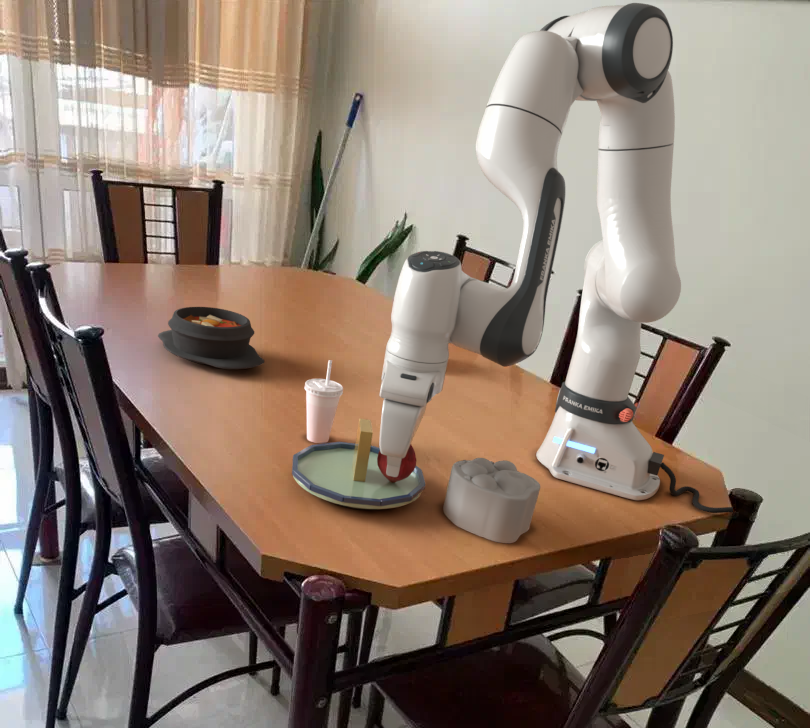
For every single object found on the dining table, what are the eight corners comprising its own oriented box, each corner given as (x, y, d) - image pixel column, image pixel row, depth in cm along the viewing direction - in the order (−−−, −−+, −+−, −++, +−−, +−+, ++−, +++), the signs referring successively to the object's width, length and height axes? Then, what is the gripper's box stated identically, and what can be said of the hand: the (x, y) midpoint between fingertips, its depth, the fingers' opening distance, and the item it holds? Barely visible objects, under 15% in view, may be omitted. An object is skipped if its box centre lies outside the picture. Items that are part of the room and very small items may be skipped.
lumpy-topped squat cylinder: (507, 548, 114) (522, 493, 110) (429, 515, 119) (440, 462, 115) (535, 524, 122) (549, 472, 118) (460, 494, 127) (472, 444, 123)
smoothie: (321, 449, 133) (331, 368, 127) (291, 437, 136) (299, 357, 129) (343, 440, 138) (354, 362, 132) (313, 428, 141) (323, 350, 134)
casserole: (284, 371, 165) (288, 331, 161) (210, 383, 152) (212, 339, 148) (210, 335, 178) (212, 297, 174) (135, 343, 165) (135, 301, 161)
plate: (430, 515, 115) (441, 460, 111) (290, 501, 112) (296, 444, 108) (415, 458, 132) (424, 409, 128) (293, 444, 129) (298, 393, 125)
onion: (419, 486, 122) (429, 437, 118) (392, 494, 118) (401, 444, 114) (393, 471, 125) (401, 423, 121) (366, 478, 121) (373, 428, 117)
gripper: (404, 350, 122) (390, 434, 129) (378, 389, 105) (363, 484, 111) (444, 358, 122) (428, 442, 129) (425, 399, 104) (407, 494, 111)
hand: (398, 462), depth 120 cm, fingers open, 8 cm apart
